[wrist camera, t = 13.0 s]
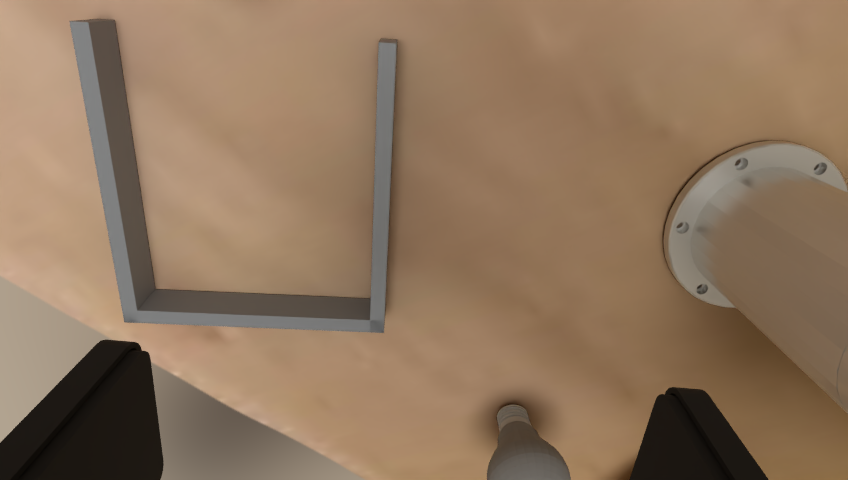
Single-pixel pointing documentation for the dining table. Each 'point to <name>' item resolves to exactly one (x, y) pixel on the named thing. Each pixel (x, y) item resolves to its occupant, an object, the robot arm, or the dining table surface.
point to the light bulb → (523, 451)
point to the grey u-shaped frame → (129, 228)
